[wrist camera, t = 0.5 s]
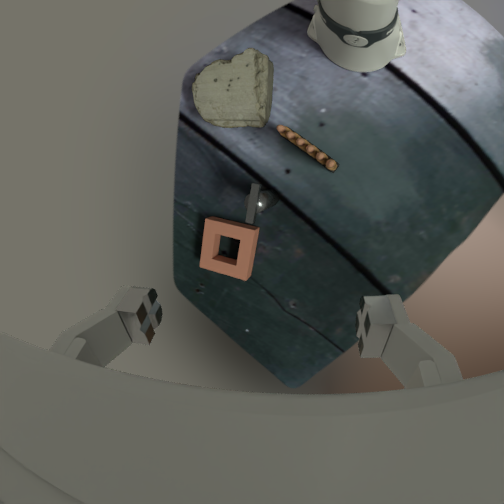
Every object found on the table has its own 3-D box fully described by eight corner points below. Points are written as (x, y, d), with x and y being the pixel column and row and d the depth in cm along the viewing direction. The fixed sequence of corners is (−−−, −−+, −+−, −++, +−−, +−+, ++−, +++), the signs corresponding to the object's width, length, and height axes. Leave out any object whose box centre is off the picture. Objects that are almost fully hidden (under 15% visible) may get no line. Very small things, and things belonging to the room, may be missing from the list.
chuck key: (264, 180, 52) (245, 182, 42) (281, 183, 52) (266, 186, 42) (259, 211, 54) (239, 220, 44) (275, 215, 53) (259, 225, 43)
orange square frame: (212, 216, 57) (205, 218, 55) (259, 227, 55) (254, 230, 52) (206, 262, 61) (199, 266, 58) (250, 275, 58) (246, 280, 55)
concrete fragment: (286, 128, 46) (198, 131, 42) (265, 123, 55) (191, 127, 51) (287, 49, 39) (196, 45, 35) (266, 56, 48) (190, 56, 44)
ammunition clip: (285, 138, 49) (268, 128, 38) (291, 130, 48) (276, 117, 37) (333, 173, 48) (331, 172, 37) (339, 165, 48) (339, 162, 37)
